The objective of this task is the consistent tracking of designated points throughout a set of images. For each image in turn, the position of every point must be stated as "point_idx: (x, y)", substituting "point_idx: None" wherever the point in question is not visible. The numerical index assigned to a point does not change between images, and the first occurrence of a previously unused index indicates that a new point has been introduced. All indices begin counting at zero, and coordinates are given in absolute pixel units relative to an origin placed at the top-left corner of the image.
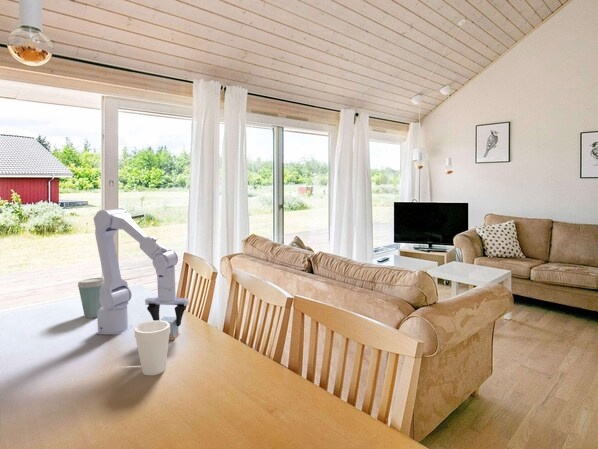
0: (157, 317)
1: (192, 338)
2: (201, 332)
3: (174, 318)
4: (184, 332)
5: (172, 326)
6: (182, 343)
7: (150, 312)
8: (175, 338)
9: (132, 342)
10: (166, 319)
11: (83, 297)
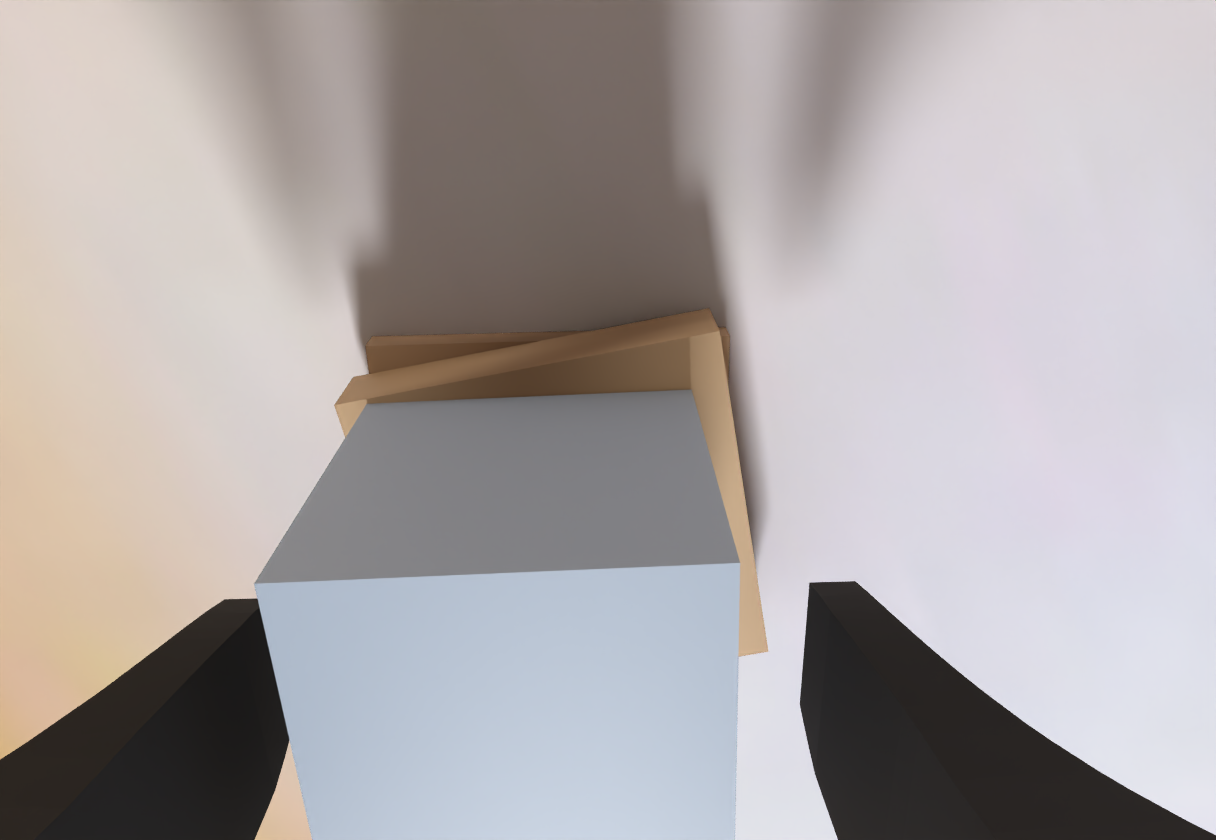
0: (866, 797)
1: (105, 526)
2: None
3: (372, 836)
4: None
5: (303, 513)
6: (160, 298)
7: (1173, 837)
8: None
9: (1187, 240)
10: (567, 754)
11: None
